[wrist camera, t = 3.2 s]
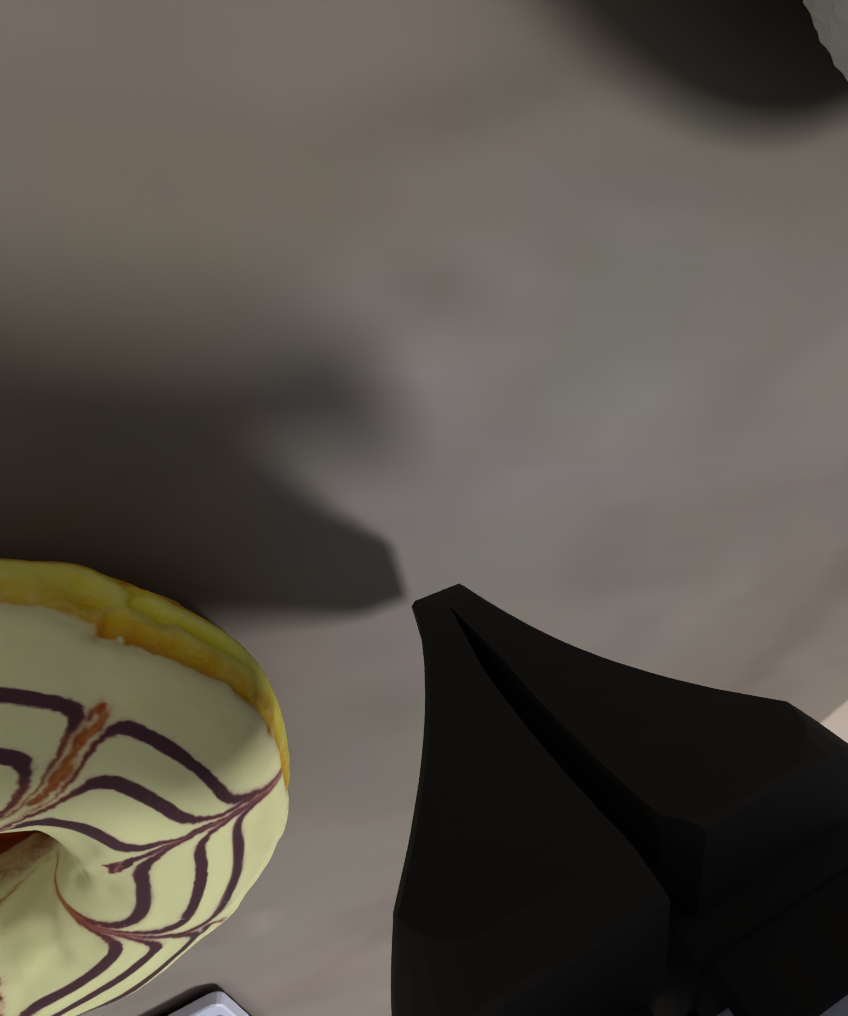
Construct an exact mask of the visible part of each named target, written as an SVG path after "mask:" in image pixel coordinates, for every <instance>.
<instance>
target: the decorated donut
mask: <svg viewBox="0 0 848 1016" xmlns="http://www.w3.org/2000/svg"><path fill="white" fill-rule="evenodd" d="M287 746H288V742H287V737H286V731H285V725H284V722H283V719H282V715H281V710H280V707H279V704H278V702H277V698H276V697H275V694H274V692H273V690H272V687H271V685H270V682H269V681H268V679H267V676H266V674H265V673H264V672H263V670H262V669H261V668H260V666H259V663H258V662H257V661H256V660H255V659H254V658H253V657H252V656H251V655H250V654H249V652H247V651H246V649H245V648H244V647H243V646H242V645H241V644H240V643H239V642H238V641H236V640H235V639H233V638H232V637H231V636H229V635H228V634H227V633H226V632H225V631H224V630H222V629H221V628H219V627H218V626H216V625H214V624H213V623H211V622H209V621H208V620H206V619H204V618H202V617H200V616H198V615H196V614H195V613H193V612H192V611H190V610H188V609H186V608H184V607H182V606H181V605H180V603H178V602H176V601H175V600H172V599H169V598H167V597H164V596H161V595H159V594H157V593H152V592H150V591H148V590H143V589H140V588H138V587H136V586H135V585H133V584H130V583H127V582H124V581H121V580H118V579H115V578H112V577H109V576H106V575H104V574H102V573H99V572H97V571H95V570H93V569H91V568H88V567H85V566H82V565H79V564H74V563H66V562H53V561H26V560H21V559H18V560H17V559H6V558H0V1016H79V1015H81V1014H84V1013H86V1012H88V1011H91V1010H93V1009H96V1008H99V1007H101V1006H104V1005H107V1004H109V1003H112V1002H114V1001H116V1000H118V999H121V998H123V997H125V996H127V995H130V994H132V993H133V992H135V991H137V990H138V989H140V988H141V987H142V986H144V985H145V984H147V983H148V982H149V981H151V980H152V979H153V978H155V977H156V976H157V975H158V974H160V973H161V972H163V971H164V970H165V969H167V968H168V967H169V966H170V965H171V964H172V963H173V962H174V961H176V960H177V959H178V958H179V957H180V956H181V955H182V954H183V953H184V952H186V951H187V950H188V949H189V948H191V947H192V946H193V945H194V944H195V943H196V942H198V941H199V940H200V939H201V938H203V937H204V936H206V935H207V934H209V933H210V932H211V931H213V930H214V929H215V928H216V927H217V926H219V925H220V924H221V923H223V922H224V921H225V920H226V919H228V918H229V916H230V915H231V914H232V913H233V912H234V911H235V910H236V909H237V907H238V906H239V904H240V902H241V900H242V899H243V897H244V895H245V894H246V892H247V891H248V890H249V889H250V888H251V887H252V885H253V884H254V883H255V881H256V880H257V879H258V877H259V876H260V874H261V872H262V871H263V870H264V868H265V867H266V865H267V864H268V862H269V861H270V859H271V857H272V854H273V851H274V849H275V847H276V844H277V842H278V840H279V839H280V837H281V836H282V834H283V832H284V829H285V824H286V821H287V816H288V810H289V807H288V802H289V796H288V791H287V790H288V784H289V779H290V767H289V759H290V757H289V752H288V747H287Z"/></svg>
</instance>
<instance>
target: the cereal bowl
mask: <svg viewBox="0 0 848 1016" xmlns="http://www.w3.org/2000/svg"><path fill="white" fill-rule="evenodd" d="M803 3H804V5H805V6H806V8H807V9H808V11H809V12H810V14H811V17H812V21H813V25H814V28H815V29H816V30H817V32H818V37H819V41H820V43H822V44H823V45H824V46H825V47H826V48H827V49H828V52H829V53H830V54H831V57H832V60H833V63H834V66H835V67H836V68H838V69H839V70H840V71H841V72H842V73H843V75H844V76H845V78H846V80H847V81H848V0H803Z"/></svg>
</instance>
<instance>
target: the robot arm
mask: <svg viewBox="0 0 848 1016" xmlns="http://www.w3.org/2000/svg"><path fill="white" fill-rule="evenodd" d="M412 609H413V612H414V615H415V619H416V622H417V626H418V629H419V632H420V636H421V639H422V646H423V655H424V666H425V722H424V738H423V749H422V759H421V769H420V777H419V784H418V791H417V797H416V803H415V809H414V815H413V821H412V827H411V833H410V838H409V844H408V849H407V853H406V858H405V862H404V867H403V871H402V876H401V880H400V884H399V889H398V893H397V898H396V902H395V907H394V912H393V934H392V957H391V1009H392V1016H848V743H846V742H845V741H844V740H842V739H841V738H839V737H838V736H837V735H835V734H834V733H832V732H831V731H830V730H828V729H827V728H825V727H824V726H823V725H821V724H820V723H819V722H817V721H816V720H814V719H813V718H811V717H810V716H808V715H807V714H805V713H804V712H802V711H801V710H799V709H798V708H796V707H794V706H793V705H791V704H790V703H788V702H786V701H780V700H775V699H769V698H763V697H758V696H752V695H747V694H741V693H736V692H730V691H724V690H719V689H714V688H710V687H705V686H701V685H697V684H693V683H688V682H684V681H680V680H676V679H672V678H668V677H664V676H661V675H657V674H653V673H650V672H647V671H643V670H640V669H637V668H634V667H630V666H627V665H624V664H620V663H617V662H614V661H611V660H608V659H606V658H603V657H600V656H597V655H595V654H592V653H590V652H587V651H584V650H582V649H579V648H577V647H574V646H572V645H570V644H567V643H565V642H563V641H561V640H558V639H556V638H554V637H552V636H550V635H548V634H546V633H544V632H542V631H540V630H538V629H536V628H534V627H532V626H530V625H528V624H526V623H524V622H523V621H521V620H519V619H517V618H515V617H514V616H512V615H510V614H508V613H506V612H505V611H503V610H501V609H499V608H498V607H496V606H495V605H493V604H491V603H490V602H488V601H486V600H485V599H483V598H482V597H480V596H478V595H477V594H475V593H474V592H472V591H471V590H469V589H468V588H466V587H465V586H463V585H461V584H457V585H454V586H452V587H449V588H447V589H444V590H442V591H439V592H437V593H434V594H432V595H429V596H427V597H424V598H422V599H419V600H416V601H415V602H414V604H413V605H412ZM168 1016H249V1015H248V1014H247V1013H246V1012H245V1011H244V1010H243V1009H241V1008H240V1007H239V1006H238V1005H237V1004H236V1003H235V1002H234V1001H233V1000H232V999H230V998H229V997H228V996H227V995H226V994H225V993H224V992H221V991H216V992H212V993H209V994H207V995H205V996H203V997H201V998H199V999H197V1000H196V1001H194V1002H192V1003H190V1004H188V1005H186V1006H184V1007H183V1008H181V1009H179V1010H177V1011H175V1012H173V1013H171V1014H169V1015H168Z"/></svg>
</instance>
